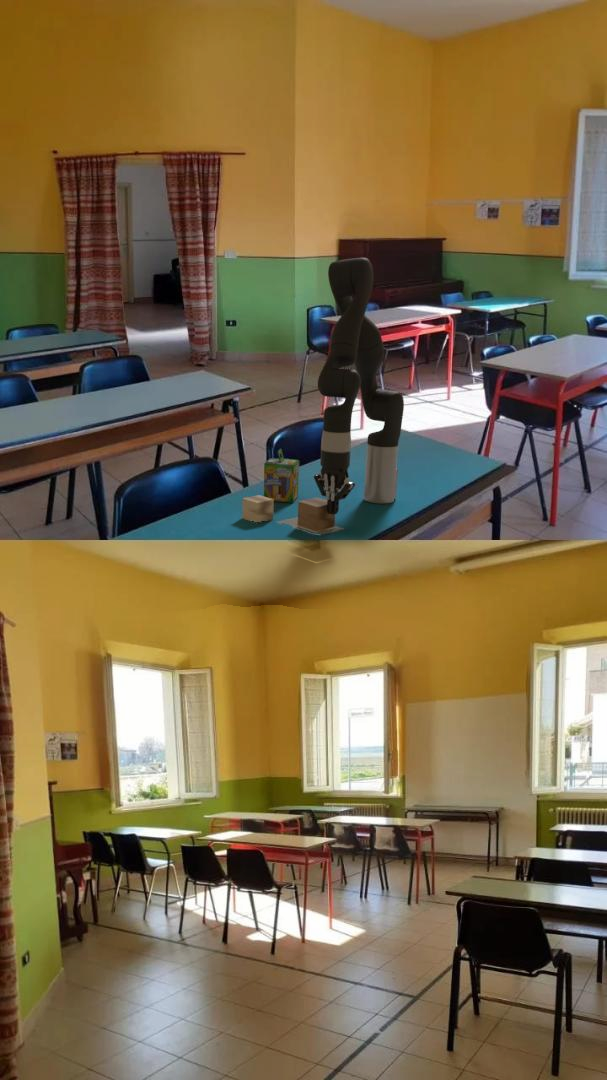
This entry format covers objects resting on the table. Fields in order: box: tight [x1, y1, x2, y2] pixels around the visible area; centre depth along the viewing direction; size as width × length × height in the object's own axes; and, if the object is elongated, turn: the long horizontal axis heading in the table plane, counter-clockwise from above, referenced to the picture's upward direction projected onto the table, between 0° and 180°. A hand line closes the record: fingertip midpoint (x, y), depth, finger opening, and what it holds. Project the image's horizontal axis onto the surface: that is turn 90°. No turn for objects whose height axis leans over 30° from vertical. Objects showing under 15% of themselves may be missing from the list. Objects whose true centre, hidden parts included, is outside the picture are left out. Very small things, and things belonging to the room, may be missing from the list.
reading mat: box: [276, 516, 345, 535], centre depth 224 cm, size 11×16×1 cm
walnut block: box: [297, 497, 336, 533], centre depth 221 cm, size 7×7×7 cm
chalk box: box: [263, 448, 300, 503], centre depth 249 cm, size 9×9×15 cm
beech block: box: [241, 494, 275, 523], centre depth 227 cm, size 6×6×6 cm
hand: (332, 513), depth 217 cm, fingers closed
